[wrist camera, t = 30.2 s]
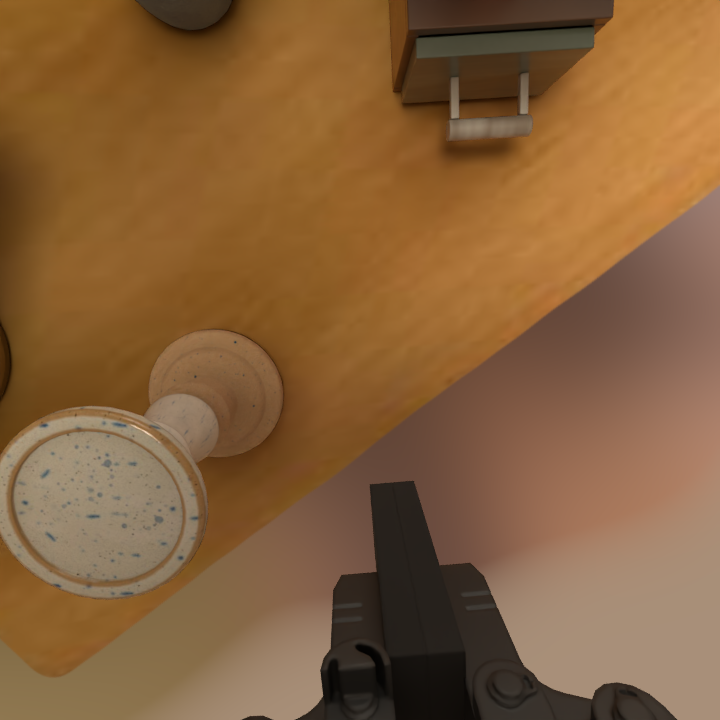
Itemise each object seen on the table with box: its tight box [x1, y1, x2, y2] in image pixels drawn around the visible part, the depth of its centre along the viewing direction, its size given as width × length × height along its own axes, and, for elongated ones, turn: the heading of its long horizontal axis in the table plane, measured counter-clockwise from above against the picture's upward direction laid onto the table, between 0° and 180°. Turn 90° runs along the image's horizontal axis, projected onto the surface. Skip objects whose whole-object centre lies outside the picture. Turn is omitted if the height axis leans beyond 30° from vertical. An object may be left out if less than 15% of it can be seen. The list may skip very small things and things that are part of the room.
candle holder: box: [0, 329, 283, 600], centre depth 31 cm, size 12×12×20 cm
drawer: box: [401, 27, 595, 141], centre depth 30 cm, size 18×11×8 cm, turn 3°
